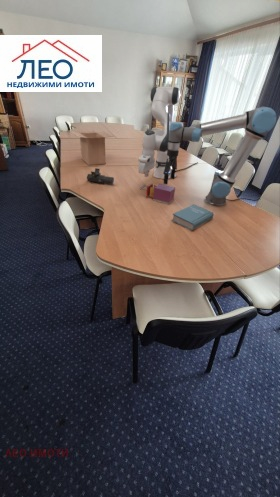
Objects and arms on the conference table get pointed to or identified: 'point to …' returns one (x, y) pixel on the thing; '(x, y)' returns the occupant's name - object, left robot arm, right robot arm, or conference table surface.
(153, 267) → the conference table surface
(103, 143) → the box
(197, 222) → the book
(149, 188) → the drawer
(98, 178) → the laser sight
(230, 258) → the conference table surface
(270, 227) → the conference table surface
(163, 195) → the cabinet
